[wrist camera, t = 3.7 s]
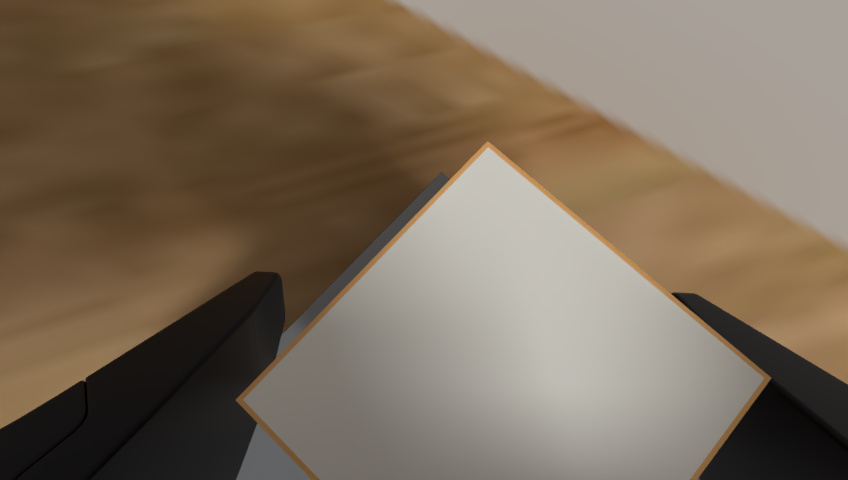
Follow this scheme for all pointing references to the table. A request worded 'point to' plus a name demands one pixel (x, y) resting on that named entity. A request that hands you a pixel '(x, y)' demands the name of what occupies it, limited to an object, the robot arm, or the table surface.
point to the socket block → (265, 460)
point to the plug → (503, 354)
